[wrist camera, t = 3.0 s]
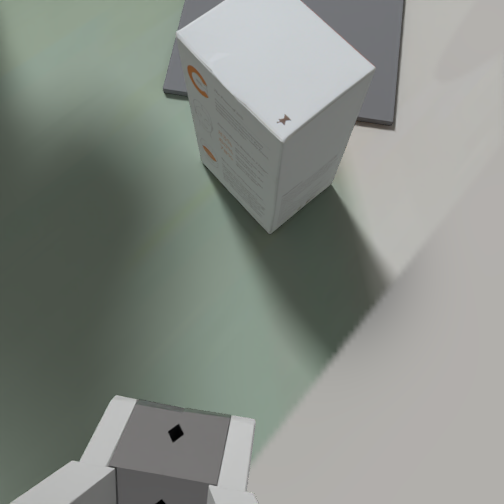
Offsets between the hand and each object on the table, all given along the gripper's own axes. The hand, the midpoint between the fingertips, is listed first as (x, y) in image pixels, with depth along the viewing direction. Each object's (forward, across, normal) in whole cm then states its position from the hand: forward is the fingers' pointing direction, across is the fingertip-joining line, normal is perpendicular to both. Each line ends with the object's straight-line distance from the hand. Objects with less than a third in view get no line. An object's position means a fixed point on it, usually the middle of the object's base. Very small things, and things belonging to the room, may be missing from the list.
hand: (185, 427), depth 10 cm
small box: (+27, 0, +3) cm, 27 cm away
